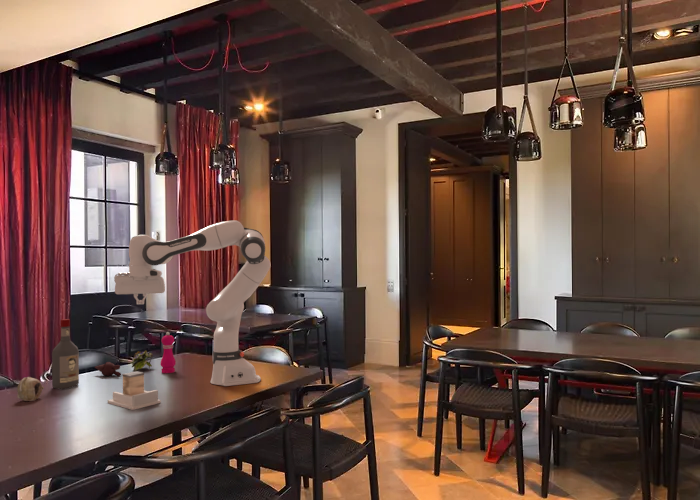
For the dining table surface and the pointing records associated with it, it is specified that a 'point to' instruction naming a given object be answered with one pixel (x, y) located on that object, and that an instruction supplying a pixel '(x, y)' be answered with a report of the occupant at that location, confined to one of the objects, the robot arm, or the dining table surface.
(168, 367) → the pepper mill
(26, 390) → the tan rounded lump
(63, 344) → the liquor
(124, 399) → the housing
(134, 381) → the light wood tall block
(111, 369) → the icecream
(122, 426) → the dining table surface
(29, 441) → the dining table surface
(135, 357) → the passion flower
